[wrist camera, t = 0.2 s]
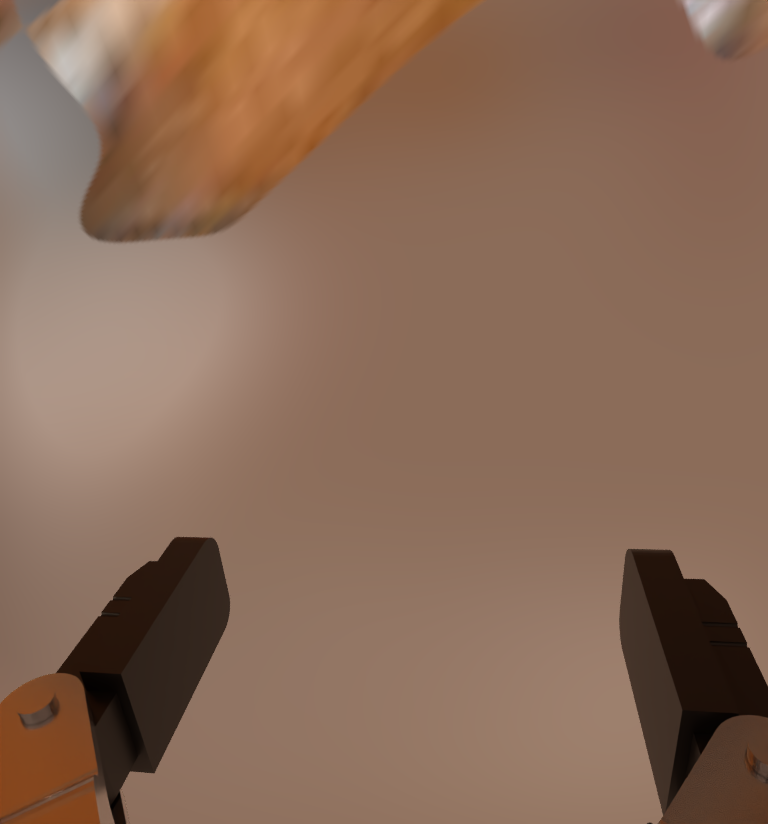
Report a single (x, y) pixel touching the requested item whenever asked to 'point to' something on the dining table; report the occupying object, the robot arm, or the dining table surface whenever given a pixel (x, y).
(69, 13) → the dining table surface
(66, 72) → the dining table surface
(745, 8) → the dining table surface
